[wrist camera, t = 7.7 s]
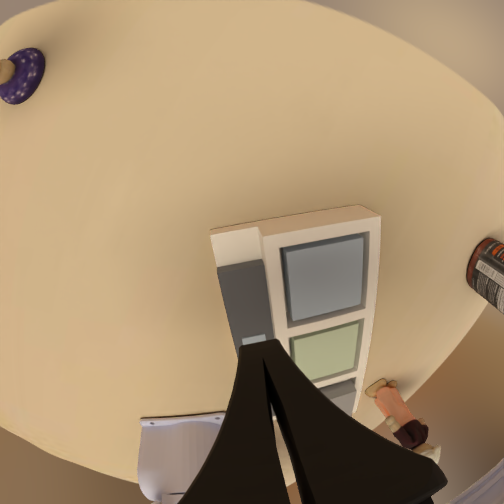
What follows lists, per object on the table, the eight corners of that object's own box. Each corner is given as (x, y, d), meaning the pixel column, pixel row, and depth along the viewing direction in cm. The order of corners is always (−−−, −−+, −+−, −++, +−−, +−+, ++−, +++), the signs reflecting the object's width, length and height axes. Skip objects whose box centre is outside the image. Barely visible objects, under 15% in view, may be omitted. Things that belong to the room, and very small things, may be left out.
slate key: (287, 308, 19) (292, 321, 17) (280, 243, 17) (286, 252, 15) (351, 293, 19) (360, 303, 18) (353, 230, 17) (363, 237, 16)
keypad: (255, 416, 25) (259, 437, 23) (210, 229, 17) (209, 246, 15) (346, 393, 26) (356, 412, 23) (359, 204, 18) (381, 216, 15)
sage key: (292, 371, 21) (296, 383, 20) (289, 327, 19) (294, 340, 18) (347, 356, 22) (353, 367, 20) (350, 312, 20) (358, 323, 18)
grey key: (298, 421, 23) (302, 433, 21) (297, 394, 21) (301, 407, 19) (345, 408, 23) (350, 418, 22) (350, 379, 21) (356, 390, 20)
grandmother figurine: (351, 399, 27) (394, 489, 15) (370, 376, 25) (423, 470, 14) (395, 397, 29) (438, 470, 17) (412, 376, 27) (462, 450, 16)
